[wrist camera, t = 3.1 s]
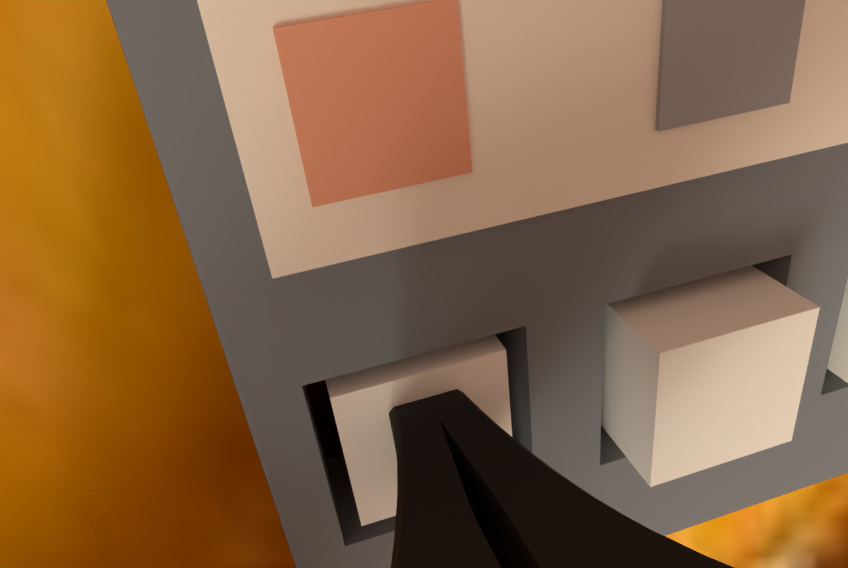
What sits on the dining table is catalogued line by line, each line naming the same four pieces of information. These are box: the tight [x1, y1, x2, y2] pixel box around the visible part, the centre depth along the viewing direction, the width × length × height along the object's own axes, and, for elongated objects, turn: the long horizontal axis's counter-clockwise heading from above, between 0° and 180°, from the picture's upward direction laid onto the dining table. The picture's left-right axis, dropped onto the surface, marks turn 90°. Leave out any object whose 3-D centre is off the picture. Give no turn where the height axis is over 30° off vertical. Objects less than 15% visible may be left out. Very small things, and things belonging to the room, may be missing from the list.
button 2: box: [325, 334, 512, 526], centre depth 13 cm, size 3×3×2 cm
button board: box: [106, 0, 848, 568], centre depth 13 cm, size 17×14×3 cm
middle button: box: [601, 265, 820, 487], centre depth 13 cm, size 3×3×2 cm
